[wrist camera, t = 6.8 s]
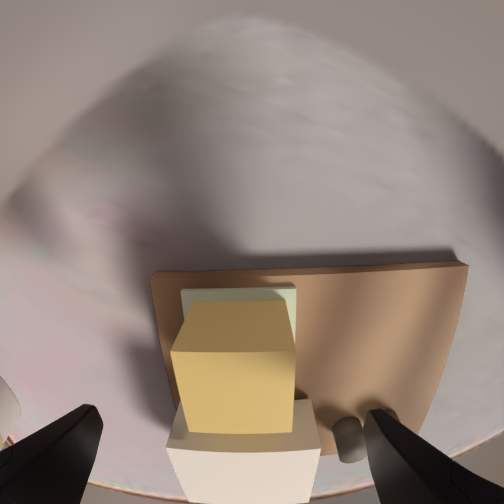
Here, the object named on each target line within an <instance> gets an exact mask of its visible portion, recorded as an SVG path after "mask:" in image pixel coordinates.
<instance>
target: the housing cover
mask: <svg viewBox="0 0 504 504" xmlns="http://www.w3.org/2000/svg"><path fill="white" fill-rule="evenodd" d="M166 450H167V452H168V455H169V458H170V460H171V463H172V465H173V467H174V470H175V472H176V475H177V477H178V479H179V481H180V484H181V486H182V488H183V490H184V493H185V495H186V497H187V499H188V501H189V502H195V503H206V504H297V503H308V502H309V499H310V495H311V491H312V487H313V483H314V478H315V474H316V470H317V465H318V461H319V456H320V452H321V445H320V440H319V436H318V431H317V426H316V421H315V416H314V412H313V407H312V402H311V399H302V400H294V406H293V422H292V432H287V433H266V434H220V433H199V432H189V430H188V426H187V422H186V418H185V415H184V411H183V407H182V403H181V400H180V403H179V406H178V409H177V412H176V415H175V419H174V422H173V425H172V428H171V432H170V435H169V438H168V441H167V445H166Z"/></svg>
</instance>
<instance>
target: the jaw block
mask: <svg viewBox="0 0 504 504" xmlns="http://www.w3.org/2000/svg"><path fill="white" fill-rule="evenodd" d="M170 353H171V358H172V363H173V368H174V373H175V377H176V382H177V386H178V390H179V394H180V399H181V403H182V407H183V411H184V415H185V418H186V422H187V426H188V430H189V432H199V433H220V434H266V433H287V432H292V422H293V406H294V388H295V367H296V347H295V342H294V338H293V333H292V328H291V323H290V319H289V314H288V310H287V305H286V300H266V301H231V302H193V304H192V306H191V308H190V310H189V312H188V314H187V316H186V318H185V321H184V323H183V325H182V327H181V329H180V331H179V333H178V335H177V338H176V340H175V342H174V344H173V346H172V348H171V350H170Z"/></svg>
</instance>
